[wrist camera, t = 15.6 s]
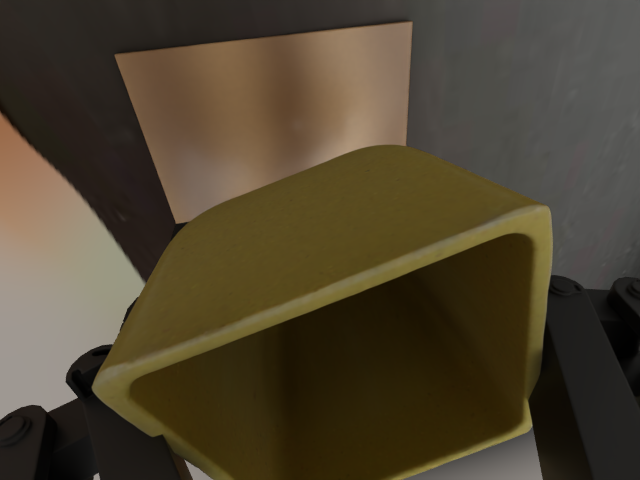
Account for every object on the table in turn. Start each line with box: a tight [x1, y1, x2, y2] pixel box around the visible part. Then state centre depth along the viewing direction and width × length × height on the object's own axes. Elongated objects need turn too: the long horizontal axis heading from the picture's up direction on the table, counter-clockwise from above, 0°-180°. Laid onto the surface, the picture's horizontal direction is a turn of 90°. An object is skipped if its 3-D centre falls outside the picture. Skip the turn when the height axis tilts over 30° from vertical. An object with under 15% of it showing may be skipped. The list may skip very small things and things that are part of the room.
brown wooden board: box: [115, 21, 413, 224], centre depth 22 cm, size 15×14×1 cm
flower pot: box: [92, 145, 553, 480], centre depth 12 cm, size 9×9×9 cm
